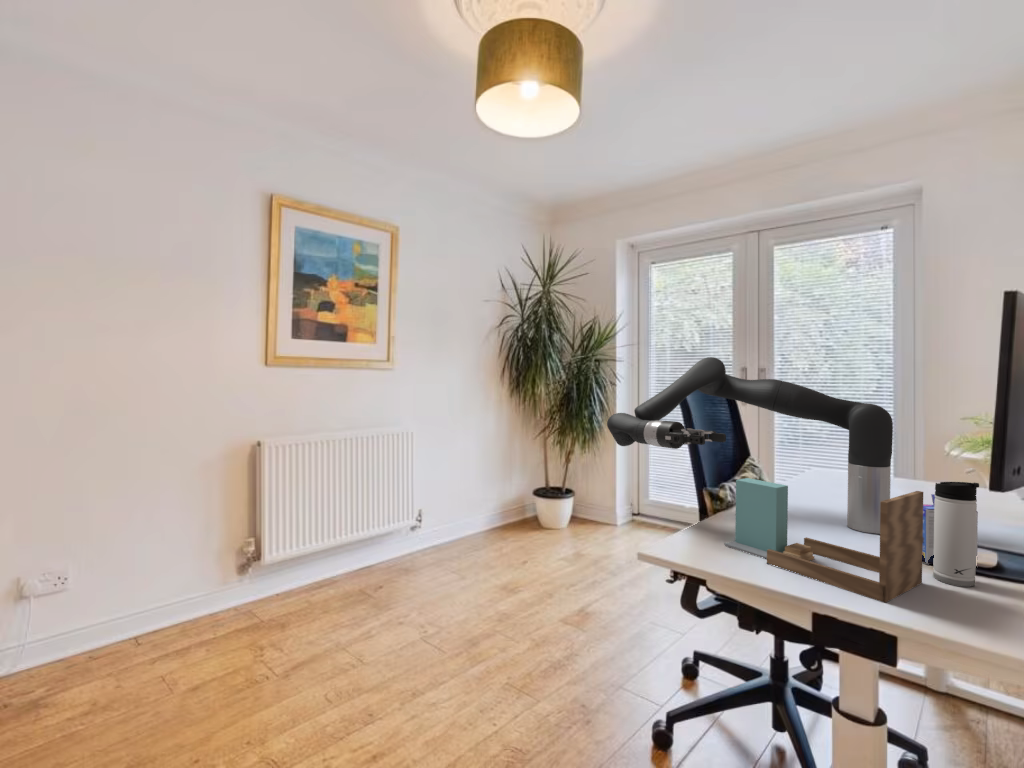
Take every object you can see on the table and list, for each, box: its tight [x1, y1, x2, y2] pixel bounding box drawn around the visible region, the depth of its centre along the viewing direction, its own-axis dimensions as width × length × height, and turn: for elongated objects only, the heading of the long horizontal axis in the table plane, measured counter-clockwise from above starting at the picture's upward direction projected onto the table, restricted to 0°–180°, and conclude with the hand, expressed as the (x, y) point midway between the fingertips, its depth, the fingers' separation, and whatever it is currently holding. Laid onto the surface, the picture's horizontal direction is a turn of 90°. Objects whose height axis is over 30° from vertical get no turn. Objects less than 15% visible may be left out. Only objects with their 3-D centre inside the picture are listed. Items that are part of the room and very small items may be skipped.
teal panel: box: [734, 477, 789, 553], centre depth 118 cm, size 5×10×15 cm, turn 32°
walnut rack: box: [766, 490, 924, 603], centre depth 103 cm, size 16×22×18 cm
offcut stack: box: [783, 542, 815, 561], centre depth 111 cm, size 6×4×3 cm, turn 122°
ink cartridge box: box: [922, 493, 979, 563], centre depth 109 cm, size 10×6×14 cm, turn 78°
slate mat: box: [724, 540, 783, 560], centre depth 117 cm, size 11×12×1 cm
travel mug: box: [932, 481, 980, 588], centre depth 99 cm, size 6×7×20 cm
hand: (714, 439), depth 128 cm, fingers open, 8 cm apart
